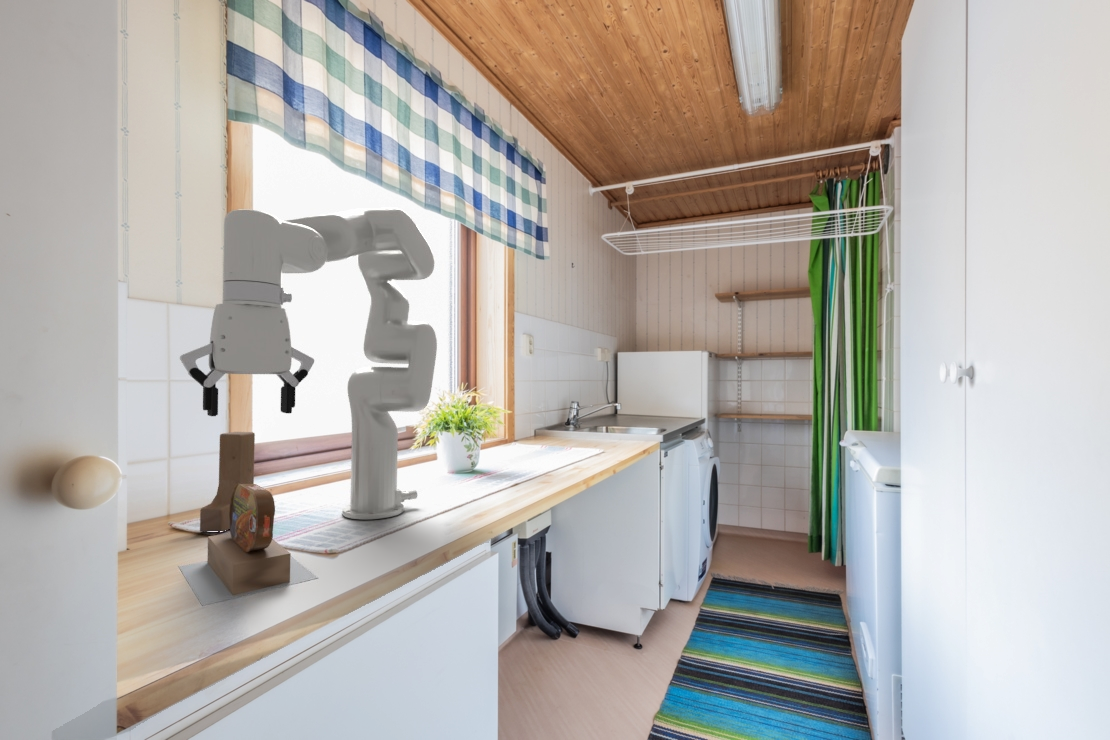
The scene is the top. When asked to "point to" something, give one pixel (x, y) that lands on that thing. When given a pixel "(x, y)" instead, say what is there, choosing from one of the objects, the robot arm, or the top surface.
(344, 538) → the top surface
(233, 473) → the wooden block
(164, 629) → the top surface
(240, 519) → the tin
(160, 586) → the top surface
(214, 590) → the plate
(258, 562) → the base block
